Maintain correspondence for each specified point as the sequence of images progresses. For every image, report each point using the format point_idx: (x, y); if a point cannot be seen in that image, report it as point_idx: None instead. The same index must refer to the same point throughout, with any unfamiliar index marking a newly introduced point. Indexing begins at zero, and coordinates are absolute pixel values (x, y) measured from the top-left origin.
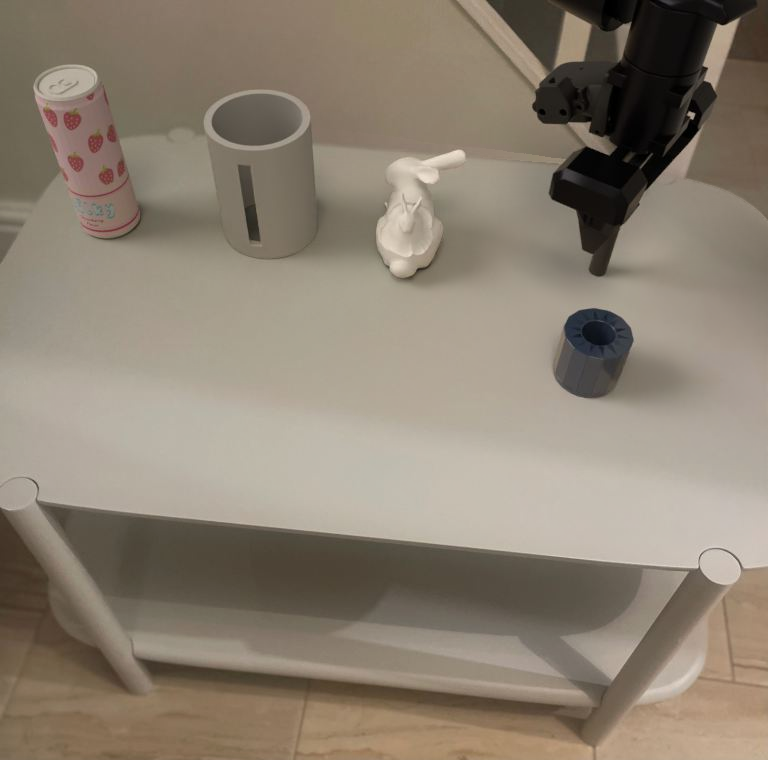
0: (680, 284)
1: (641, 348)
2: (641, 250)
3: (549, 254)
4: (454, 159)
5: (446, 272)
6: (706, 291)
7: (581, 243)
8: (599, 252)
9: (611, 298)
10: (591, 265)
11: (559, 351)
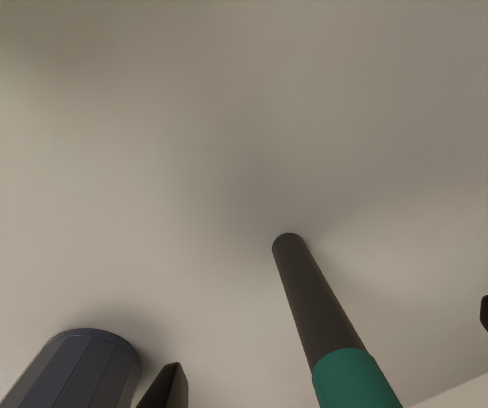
0: None
1: (198, 380)
2: (391, 262)
3: (256, 156)
4: None
5: (3, 25)
6: None
7: (147, 390)
8: (283, 283)
9: (248, 301)
10: (276, 250)
11: (4, 396)
